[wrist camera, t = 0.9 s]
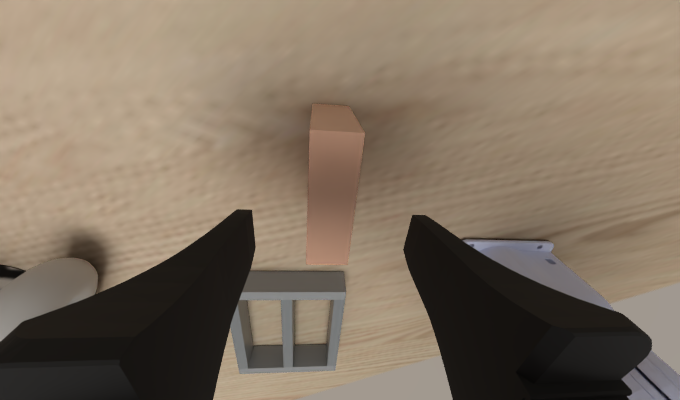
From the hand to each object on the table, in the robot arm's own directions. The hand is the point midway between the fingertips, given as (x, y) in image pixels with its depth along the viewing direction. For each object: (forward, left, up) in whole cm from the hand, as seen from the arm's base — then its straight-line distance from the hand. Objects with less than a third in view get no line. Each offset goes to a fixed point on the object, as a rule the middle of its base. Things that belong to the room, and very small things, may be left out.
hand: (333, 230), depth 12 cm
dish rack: (+3, +18, -9) cm, 20 cm away
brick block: (0, 0, -9) cm, 9 cm away
